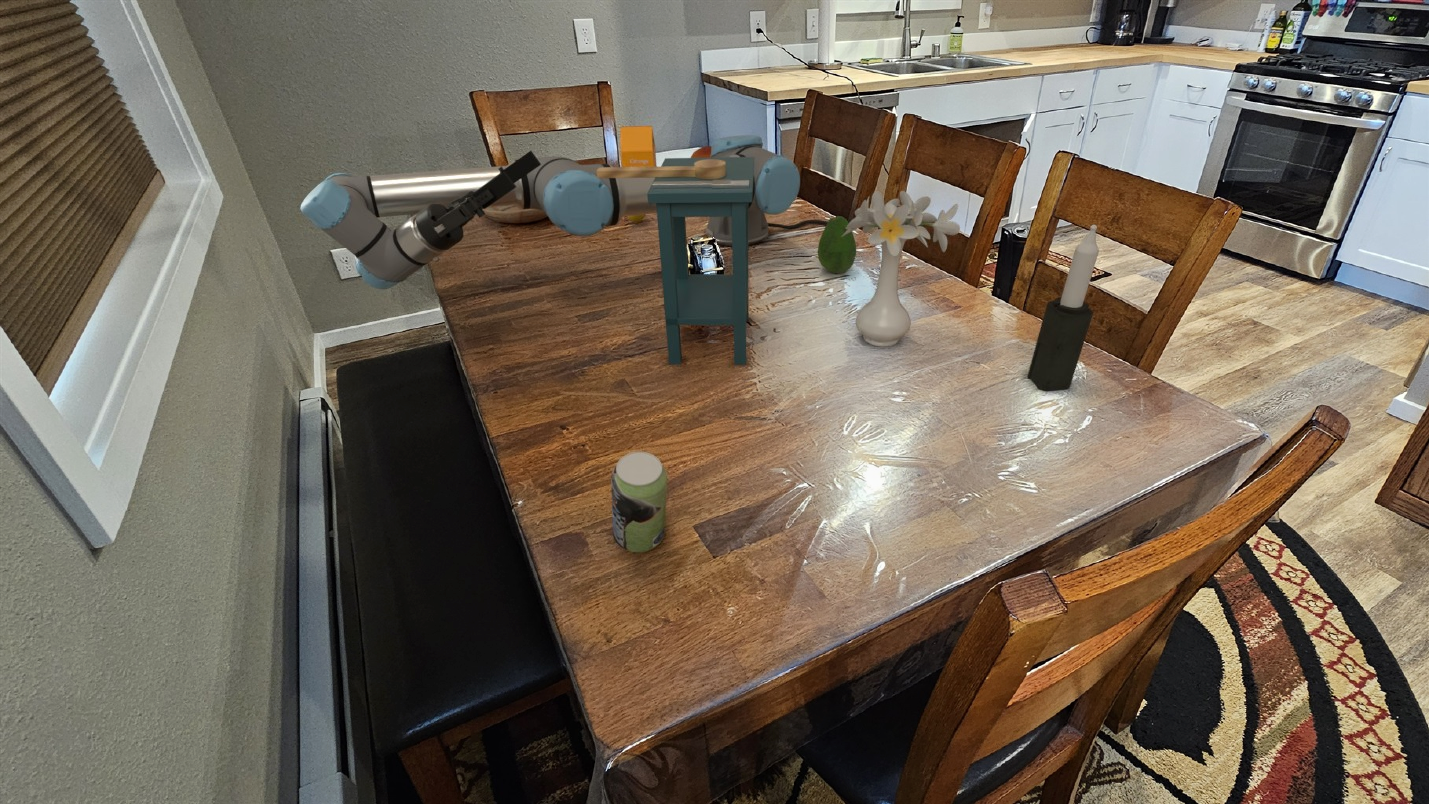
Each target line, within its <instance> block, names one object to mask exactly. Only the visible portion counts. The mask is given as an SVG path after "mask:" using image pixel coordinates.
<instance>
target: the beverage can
mask: <svg viewBox="0 0 1429 804" xmlns="http://www.w3.org/2000/svg"><path fill="white" fill-rule="evenodd" d="M610 486H611V487H610V488H611V489H610V490H611V492H610V493H611V518H612V519H611V520H612V523H611V525H612V537H613V539H614V541H615V543H616V544H617V545H618V546H619V547H620V548H621V549H623V550H625V551H628V552H631V553H645V552H649V551H651V550H653V549H655V548H656V547H658V546H659V545H660V544H661V542H662V541H663V539H664V537H665V531H666V530H665V529H666V514H667V513H666V510H667V493H668V492H667V491H668V473H667V471H666V468H665V467H664V465H663V464H662V462H661V460H660V459H659V458H658V457H657V456H656V455H654V454H652V453H650V452H647V451H633V452H629V453H626V454H625V455H624V456H622V457H620V458H619V460H618V461H617V463H616V464H615V466H614V468H613V469H612V472H611V476H610Z"/></svg>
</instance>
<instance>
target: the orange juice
mask: <svg viewBox="0 0 1429 804" xmlns="http://www.w3.org/2000/svg"><path fill="white" fill-rule="evenodd" d="M619 129H620V131H619V132H620V133H619V134H620V137H619V138H620V160H621V167H658V165H657V155H656V144H655V137H654V130H653V125H637V126H636V125H635V126H632V125H631V126H620V127H619Z"/></svg>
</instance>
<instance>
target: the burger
mask: <svg viewBox="0 0 1429 804" xmlns="http://www.w3.org/2000/svg"><path fill="white" fill-rule="evenodd" d="M711 146H712V145H707V146H702V147H700V148H697V149H696V150H695V151H694V152H692V154H691V156H690V158H711Z"/></svg>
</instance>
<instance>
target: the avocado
mask: <svg viewBox="0 0 1429 804" xmlns="http://www.w3.org/2000/svg"><path fill="white" fill-rule="evenodd" d="M848 221H849V220H847V219H846V218H845V217H843V216H841V215H836V216H834V217H830V218H829V219H828V223H827V225H825V227H824V229H823V231H822V233H821V236H820V238H819V241H818V247H817V257H818V261H819V263H820V265H821V266H822V267H823V268H824V269H825V270H826V271H827V272H830V273H833V274H844V273H846V272H847V271H848V270H850V269H851V268H852V267H853V265H854V262H855V259H856V256H857V243H856V240H855V239H856V238H855V236H854V233H853V231H851V232H850V233H848V234H846V235H844V236H842V235H843V234H844V233H845V232H846V231H847V230H848V229H846V227H847V225H848V224H849V223H848ZM841 236H842V237H841Z"/></svg>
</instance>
